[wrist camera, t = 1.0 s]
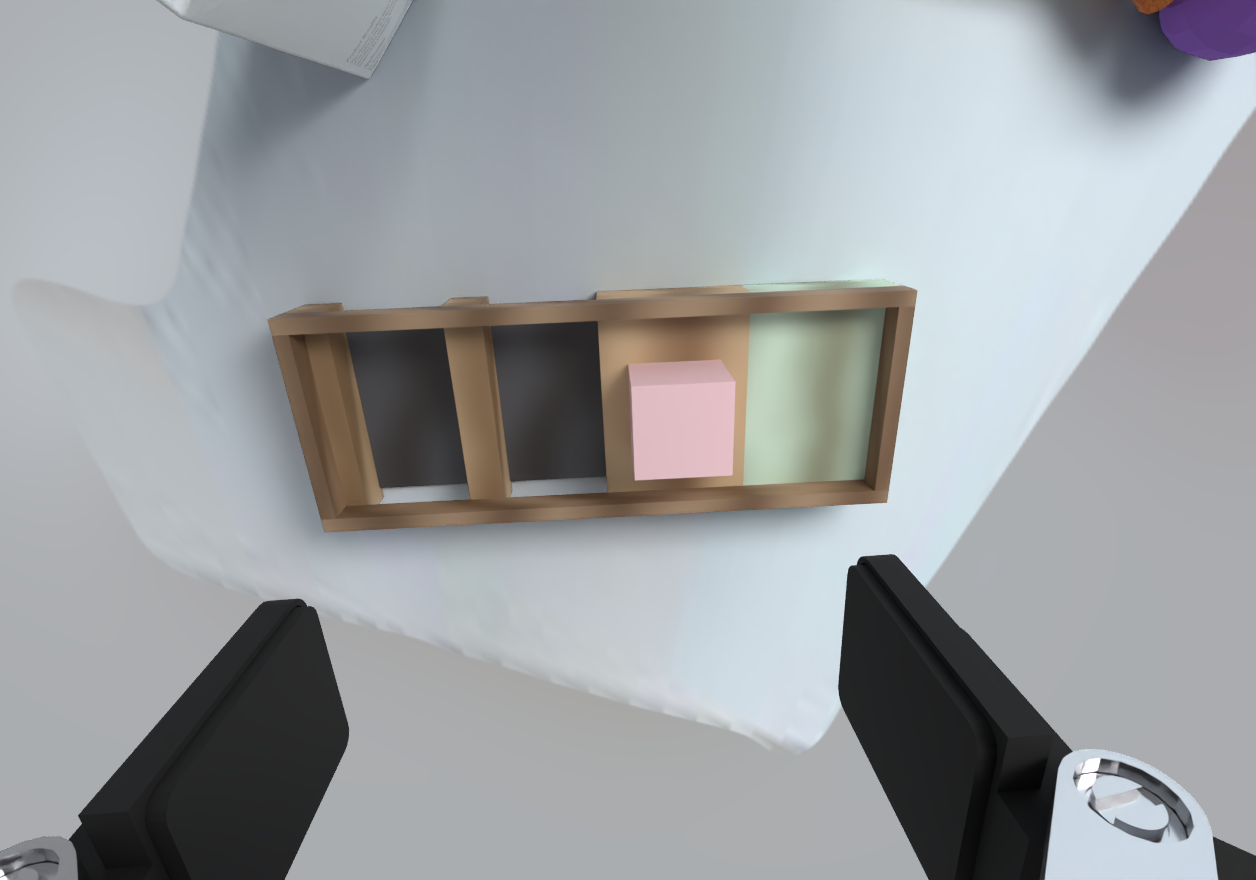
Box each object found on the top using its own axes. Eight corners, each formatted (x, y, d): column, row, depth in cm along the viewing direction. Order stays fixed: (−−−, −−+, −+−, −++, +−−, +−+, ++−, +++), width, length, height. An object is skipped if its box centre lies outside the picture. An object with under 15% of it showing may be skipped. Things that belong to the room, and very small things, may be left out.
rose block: (628, 363, 33) (631, 386, 29) (720, 359, 33) (735, 381, 29) (631, 449, 35) (634, 480, 31) (718, 444, 35) (732, 475, 31)
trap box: (351, 498, 38) (324, 532, 34) (304, 304, 33) (267, 319, 30) (859, 472, 39) (886, 502, 35) (883, 278, 34) (917, 290, 30)
